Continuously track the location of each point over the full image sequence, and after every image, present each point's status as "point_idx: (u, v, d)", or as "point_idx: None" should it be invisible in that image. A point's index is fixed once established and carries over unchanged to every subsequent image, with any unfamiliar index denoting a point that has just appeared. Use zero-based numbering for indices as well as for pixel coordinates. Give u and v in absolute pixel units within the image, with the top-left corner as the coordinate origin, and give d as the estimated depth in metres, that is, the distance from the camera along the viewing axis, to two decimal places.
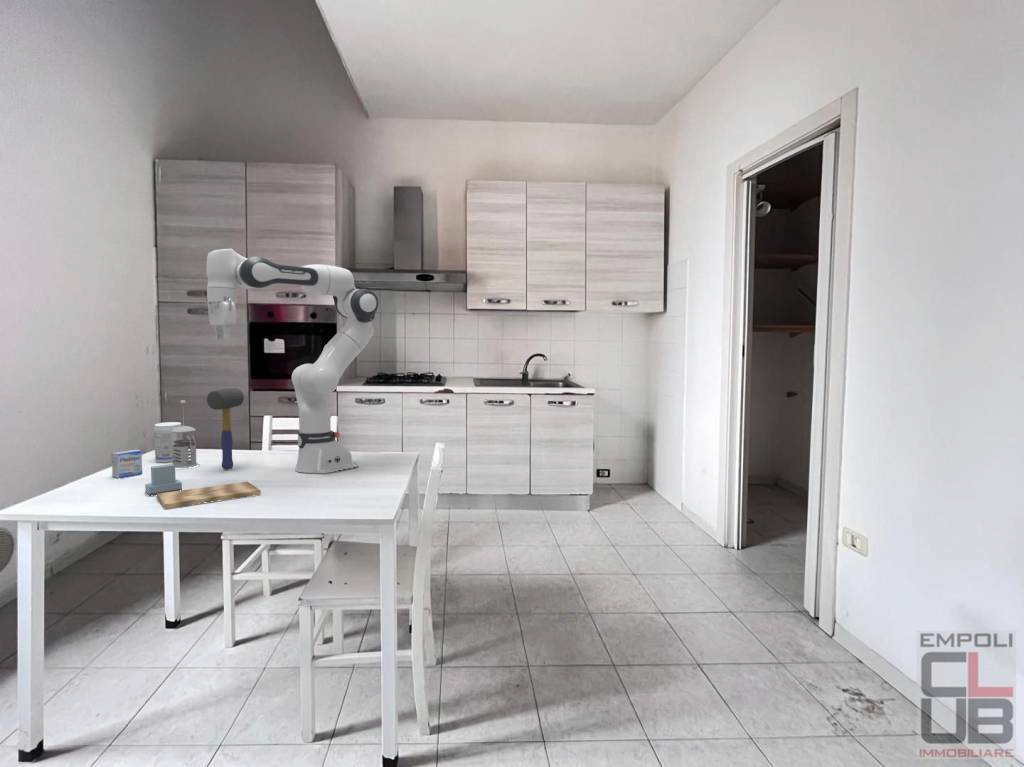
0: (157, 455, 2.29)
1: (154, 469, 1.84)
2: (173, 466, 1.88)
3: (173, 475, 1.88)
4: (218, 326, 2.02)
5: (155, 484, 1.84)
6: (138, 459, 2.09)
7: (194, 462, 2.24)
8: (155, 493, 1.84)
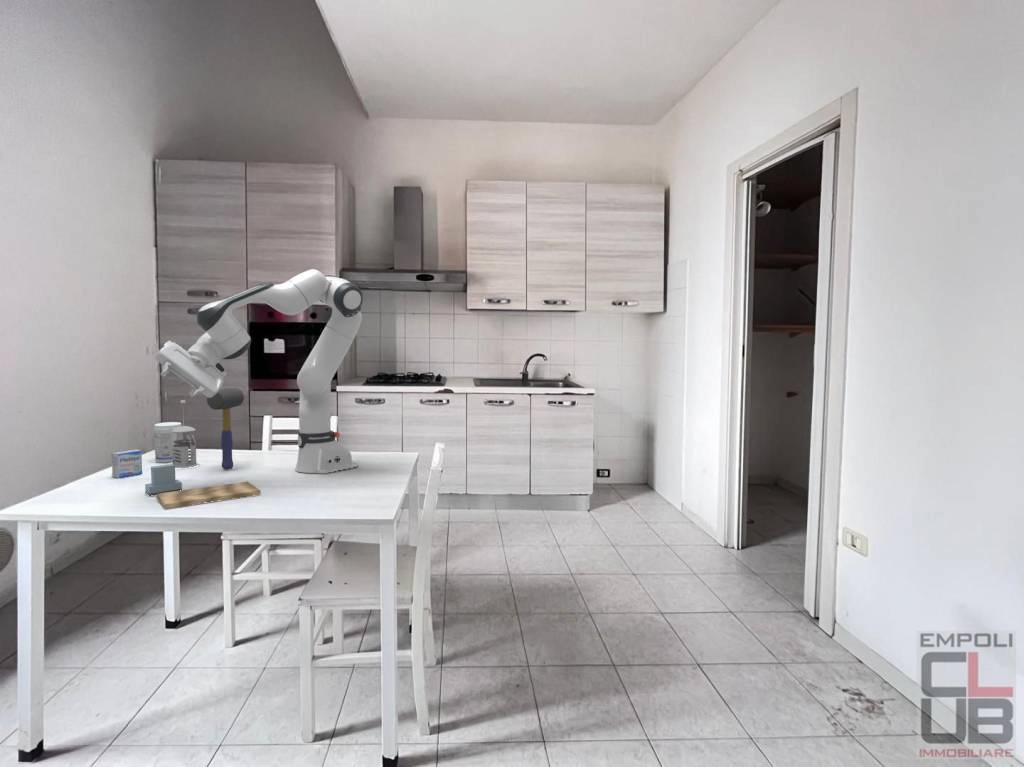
0: (157, 455, 2.29)
1: (154, 469, 1.84)
2: (173, 466, 1.88)
3: (173, 475, 1.88)
4: (198, 387, 1.84)
5: (155, 484, 1.84)
6: (138, 459, 2.09)
7: (194, 462, 2.24)
8: (155, 493, 1.84)
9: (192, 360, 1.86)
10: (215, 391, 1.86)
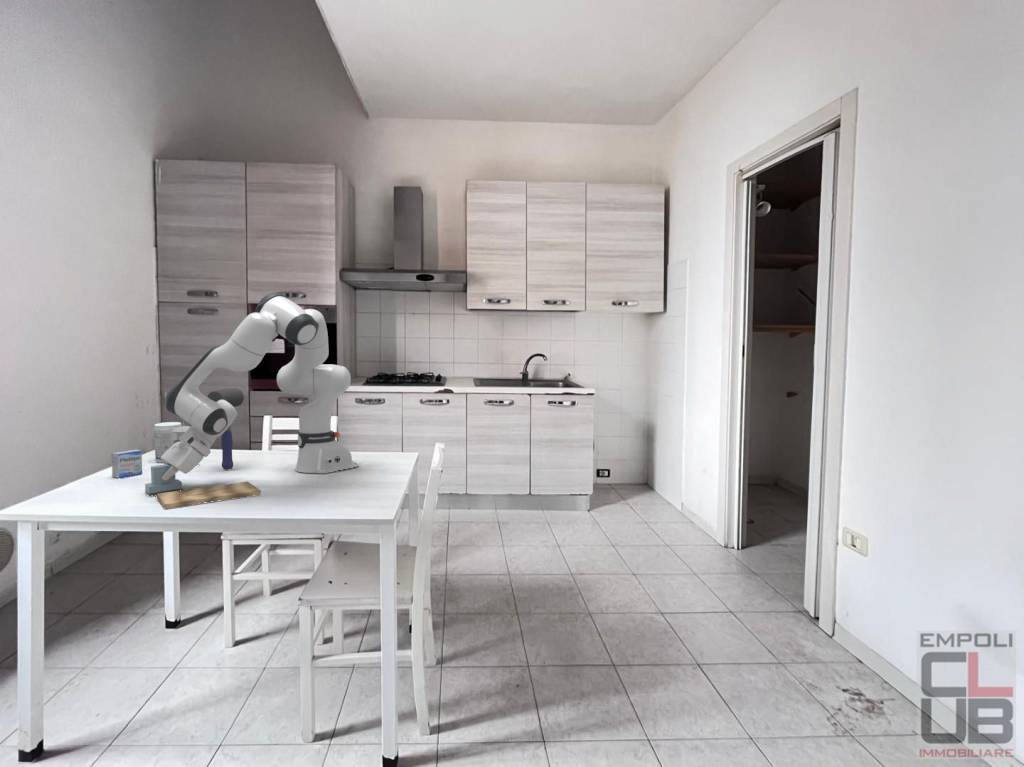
0: (157, 455, 2.29)
1: (154, 469, 1.84)
2: None
3: (173, 475, 1.88)
4: None
5: (155, 484, 1.84)
6: (138, 459, 2.09)
7: None
8: (155, 493, 1.84)
9: (180, 448, 1.91)
10: (178, 466, 1.81)
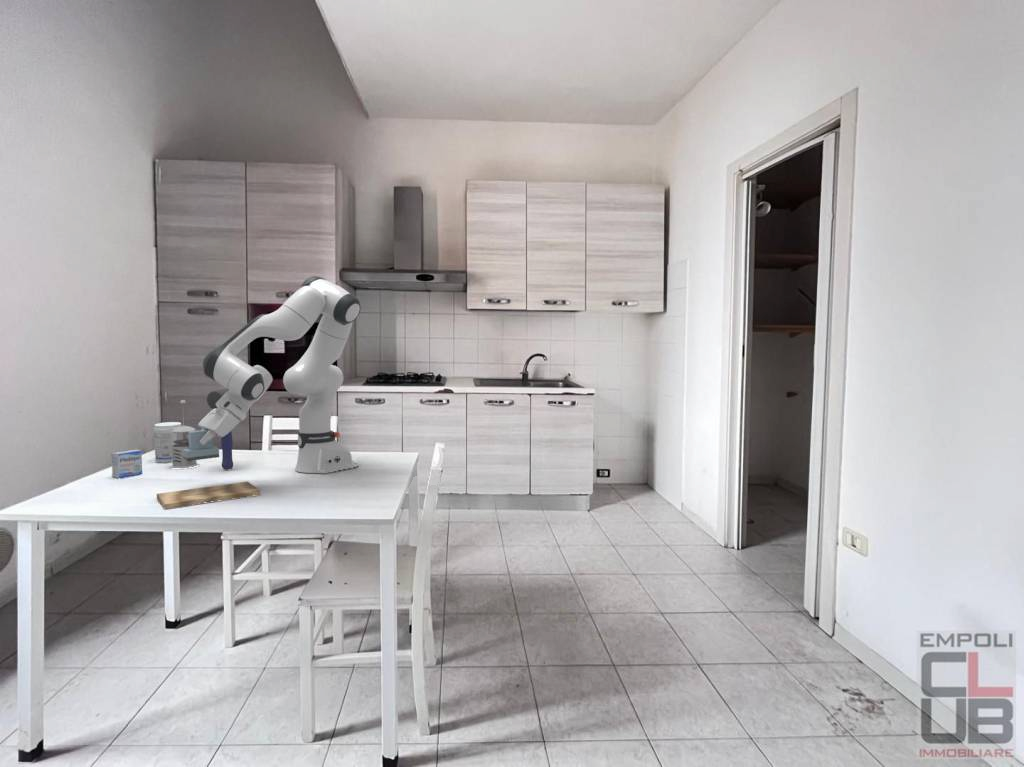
0: (157, 455, 2.29)
1: (191, 433, 1.83)
2: None
3: (210, 440, 1.86)
4: None
5: (192, 449, 1.83)
6: (138, 459, 2.09)
7: (194, 462, 2.24)
8: (193, 458, 1.82)
9: (216, 413, 1.90)
10: (215, 428, 1.80)
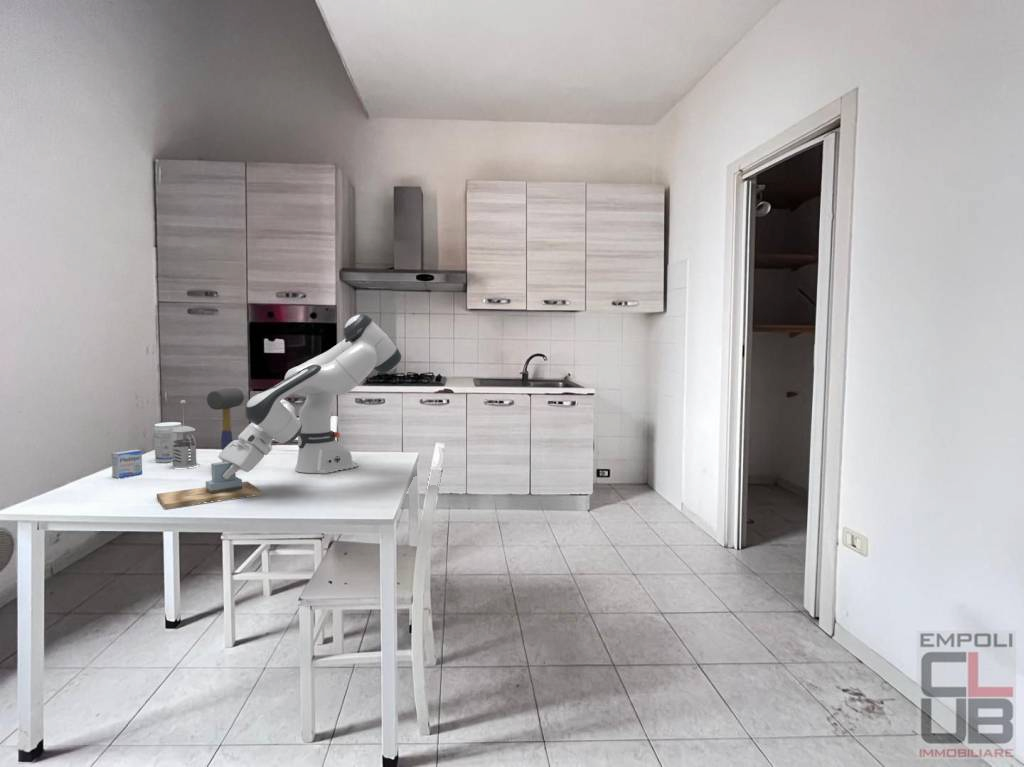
0: (157, 455, 2.29)
1: (215, 466, 1.82)
2: None
3: None
4: None
5: (216, 481, 1.82)
6: (138, 459, 2.09)
7: (194, 462, 2.24)
8: (216, 490, 1.81)
9: (238, 446, 1.89)
10: (240, 464, 1.79)
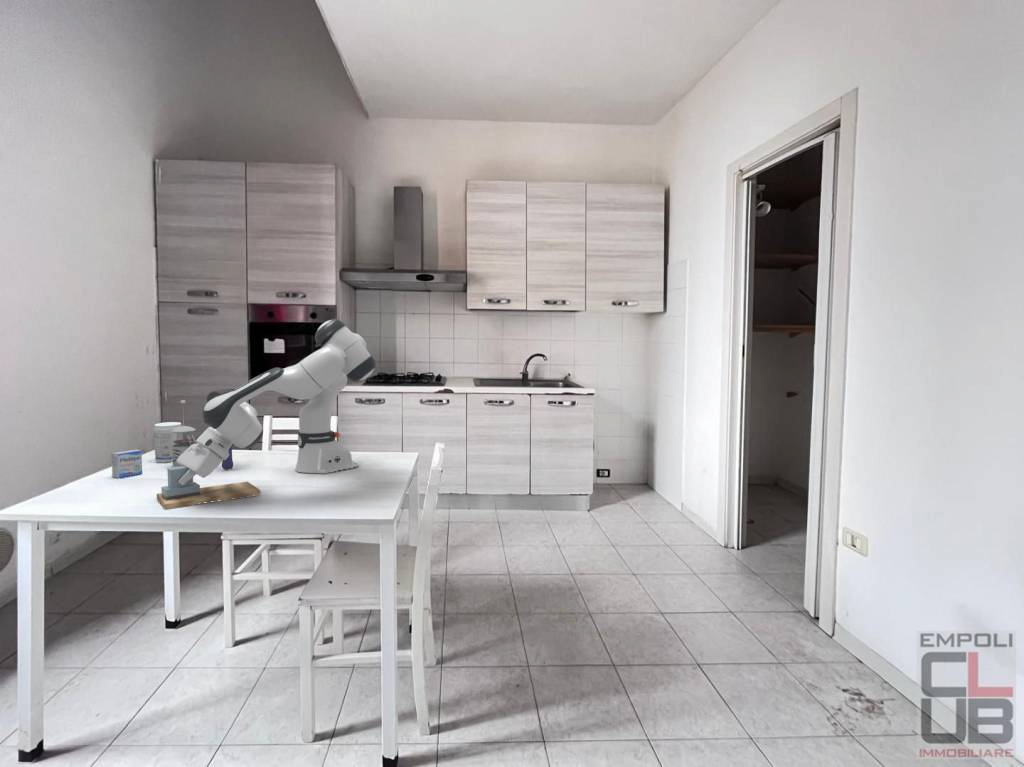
0: (157, 455, 2.29)
1: (171, 471, 1.74)
2: None
3: None
4: None
5: (172, 487, 1.75)
6: (138, 459, 2.09)
7: None
8: (172, 496, 1.74)
9: (196, 450, 1.82)
10: (196, 469, 1.72)
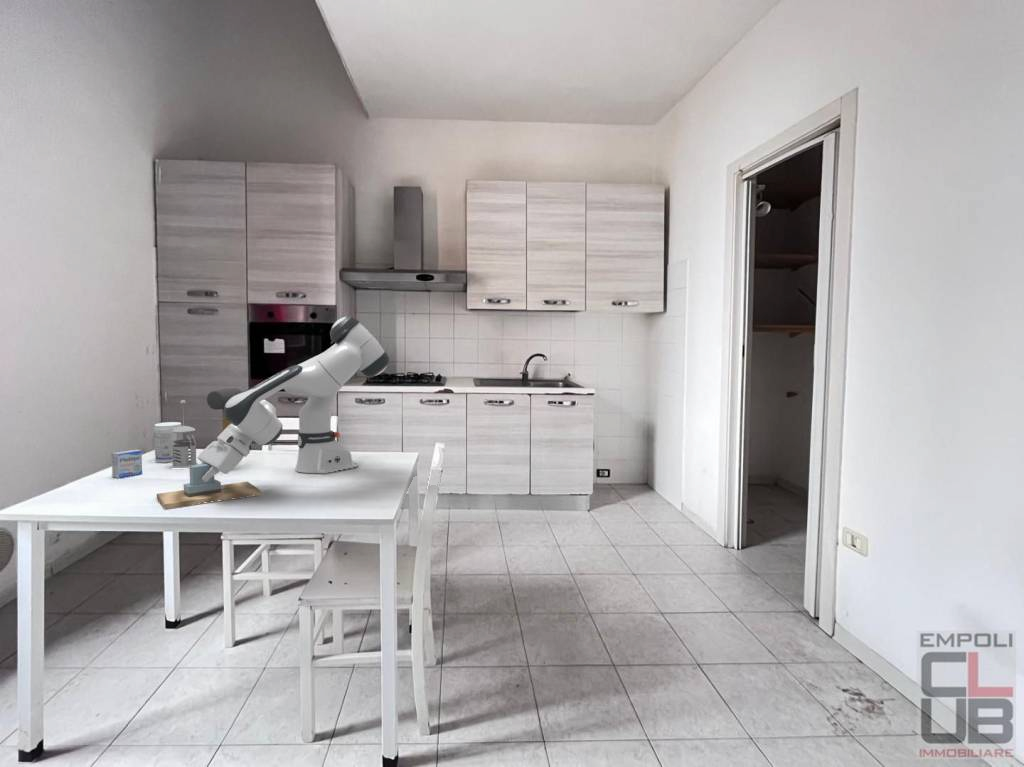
0: (157, 455, 2.29)
1: (193, 468, 1.78)
2: None
3: None
4: None
5: (194, 484, 1.79)
6: (138, 459, 2.09)
7: (194, 462, 2.24)
8: (194, 493, 1.78)
9: (218, 447, 1.85)
10: (218, 466, 1.75)
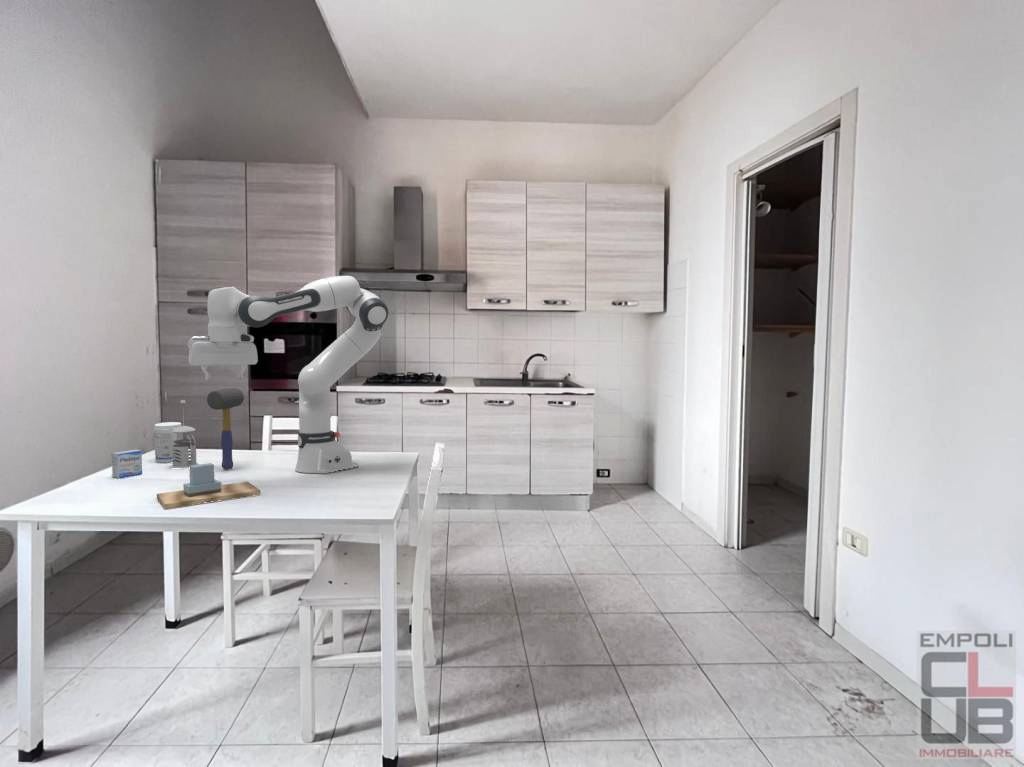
0: (157, 455, 2.29)
1: (193, 468, 1.78)
2: (212, 465, 1.82)
3: (212, 475, 1.82)
4: (240, 365, 1.98)
5: (194, 484, 1.79)
6: (138, 459, 2.09)
7: (194, 462, 2.24)
8: (194, 493, 1.78)
9: (220, 347, 1.91)
10: (255, 362, 1.99)
